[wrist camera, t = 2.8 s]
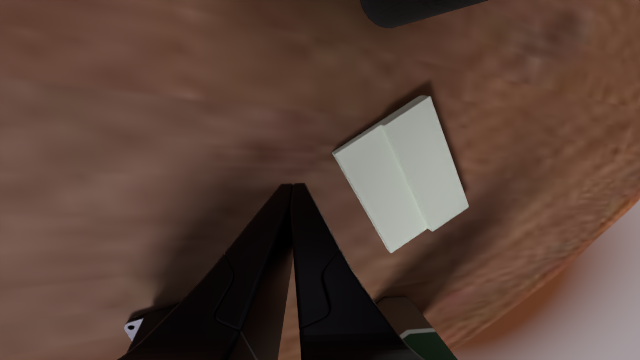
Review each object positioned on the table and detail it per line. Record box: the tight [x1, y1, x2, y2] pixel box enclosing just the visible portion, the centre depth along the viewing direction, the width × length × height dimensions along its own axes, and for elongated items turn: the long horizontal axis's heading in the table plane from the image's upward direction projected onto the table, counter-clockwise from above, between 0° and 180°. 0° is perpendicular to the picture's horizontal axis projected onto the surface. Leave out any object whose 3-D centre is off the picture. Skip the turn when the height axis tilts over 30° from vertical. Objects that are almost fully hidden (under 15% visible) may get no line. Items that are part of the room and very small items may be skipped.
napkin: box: [332, 95, 469, 253], centre depth 23 cm, size 12×9×2 cm
